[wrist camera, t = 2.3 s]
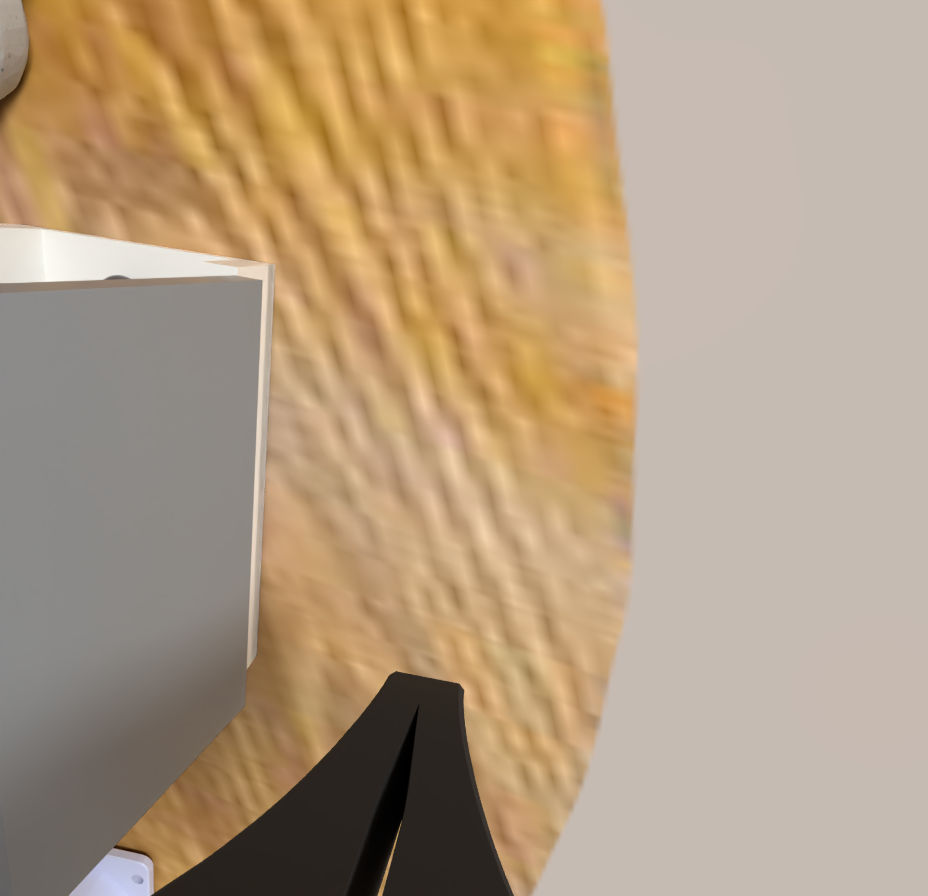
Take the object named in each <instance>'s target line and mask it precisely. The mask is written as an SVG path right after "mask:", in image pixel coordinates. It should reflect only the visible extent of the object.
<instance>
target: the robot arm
mask: <svg viewBox="0 0 928 896" xmlns="http://www.w3.org/2000/svg"><path fill="white" fill-rule="evenodd" d="M463 698H464V689H463V688H462V687H461V685H460V684H458V683H453V682H448V681H442V680H437V679H432V678H427V677H422V676H417V675H412V674H407V673H402V672H397V671H396V672H394V673H392V674H391V675H389V677H388V678H387V680H386V682H385V683H384V685H383V686H382V688H381V689H380V691H379V692H378V694H377V695H376V696H375V698H374V699H373V700H372V702H371V703H370V704H369V706H368V707H367V708H366V709H365V711H364V712H363V713H362V714H361V716H360V717H359V718H358V719H357V721H356V722H355V723H354V724H353V725H352V726H351V728H350V729H349V730H348V731H347V732H346V733H345V734H344V736H343V737H342V738H341V739H340V740H339V741H338V743H337V744H336V745H335V746H334V747H333V748H332V749H331V750H330V751H329V752H328V753H327V754H326V755H325V756H324V757H323V758H322V759H321V761H320V762H319V763H318V764H317V765H316V766H315V767H314V768H313V769H312V770H311V771H310V772H309V773H308V774H307V775H306V776H305V777H304V778H303V779H302V780H301V781H300V782H299V783H298V784H297V785H295V786H294V787H293V788H292V789H291V790H290V791H289V792H288V793H287V794H286V795H285V796H284V797H282V798H281V799H280V800H279V801H278V802H277V803H276V804H275V805H273V806H272V807H271V808H270V809H269V810H268V811H266V812H265V813H264V814H263V815H262V816H261V817H259V818H258V819H257V820H256V821H255V822H253V823H252V824H251V825H249V826H248V827H247V828H246V829H244V830H243V831H242V832H241V833H239V834H238V835H237V836H235V837H234V838H233V839H232V840H230V841H229V842H228V843H227V844H225V845H224V846H223V847H221V848H220V849H219V850H217V851H216V852H214V853H213V854H212V855H210V856H209V857H208V858H206V859H205V860H203V861H202V862H201V863H199V864H198V865H196V866H195V867H193V868H191V869H190V870H188V871H187V872H185V873H184V874H182V875H181V876H179V877H178V878H176V879H175V880H173V881H172V882H170V883H169V884H167V885H166V886H164V887H163V888H161V889H160V890H158V891H157V892H155V893H154V879H153V863H152V861H151V859H150V858H149V857H147V856H145V855H143V854H138V853H133V852H129V851H124V850H120V849H115V848H112V850H111V851H110V852H109V853H108V854H107V855H106V856H105V857H104V858H103V859H102V860H101V861H100V862H99V863H98V865H97V866H96V867H95V868H94V869H93V870H92V871H91V872H90V873H89V874H88V875H87V876H86V877H85V879H84V880H83V881H82V882H81V883H80V884H79V885H78V886H77V887H76V888H75V889H74V890H73V891H72V893H71V894H70V895H69V896H377V895H378V892H379V889H380V886H381V883H382V880H383V877H384V874H385V870H386V867H387V864H388V861H389V858H390V855H391V852H392V849H393V846H394V843H395V840H396V836H397V833H398V830H399V827H400V824H401V827H400V831H399V834H398V838H397V842H396V846H395V850H394V854H393V858H392V861H391V865H390V869H389V873H388V876H387V880H386V884H385V888H384V891H383V895H382V896H514V895H513V893H512V890H511V888H510V885H509V883H508V880H507V878H506V876H505V873H504V870H503V868H502V865H501V862H500V860H499V857H498V854H497V851H496V849H495V846H494V843H493V840H492V837H491V834H490V831H489V827H488V824H487V821H486V818H485V814H484V811H483V807H482V804H481V800H480V797H479V793H478V789H477V785H476V781H475V776H474V772H473V767H472V763H471V758H470V754H469V748H468V742H467V736H466V728H465V720H464V706H463ZM401 821H402V823H401Z"/></svg>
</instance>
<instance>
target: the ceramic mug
mask: <svg viewBox="0 0 928 896" xmlns="http://www.w3.org/2000/svg"><path fill="white" fill-rule="evenodd" d="M28 49H29V33H28V25H27V20H26V16H25V12H24V8H23V4H22V0H0V100H1V99H3V98H4V97H5V96H7V95H8V94H9V93H10V92H12V91H13V90H14V89H15V88H16V87H17V86H18V84H19V82H20V79H21V77H22V74H23V72H24V69H25V67H26V63H27V60H28Z"/></svg>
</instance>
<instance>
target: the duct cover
mask: <svg viewBox="0 0 928 896" xmlns="http://www.w3.org/2000/svg"><path fill="white" fill-rule="evenodd" d="M262 285H263V280H258V279H253V278H248V277H242V276H237V275H231V276H202V277H173V278H144V279H114V280H85V281H56V282H27V283H0V896H69V895H70V894H71V893H72V891H73V890H74V889H75V888H76V887H77V886H78V885H79V884H80V883H81V882H82V881H83V880H84V879H85V877H86V876H87V875H88V874H89V873H90V872H91V871H92V870H93V869H94V868H95V867H96V866H97V865H98V863H99V862H100V861H101V860H102V859H103V858H104V857H105V856H106V855H107V854H108V853H109V852H110V851H111V850H112V848H113V847H114V846H115V845H116V844H117V843H118V842H119V841H120V840H121V839H122V838H123V837H124V836H125V834H126V833H127V832H128V831H129V830H130V829H131V828H132V827H133V826H134V825H135V824H136V823H137V822H138V820H139V819H140V818H141V817H142V816H143V815H144V814H145V813H146V812H147V811H148V810H149V809H150V808H151V806H152V805H153V804H154V803H155V802H156V801H157V800H158V799H159V798H160V797H161V796H162V795H163V794H164V792H165V791H166V790H167V789H168V788H169V787H170V786H171V785H172V784H173V783H174V782H175V781H176V780H177V779H178V777H179V776H180V775H181V774H182V773H183V772H184V771H185V770H186V769H187V768H188V767H189V766H190V765H191V763H192V762H193V761H194V760H195V759H196V758H197V757H198V756H199V755H200V754H201V753H202V752H203V751H204V749H205V748H206V747H207V746H208V745H209V744H210V743H211V742H212V741H213V740H214V739H215V738H216V737H217V735H218V734H219V733H220V732H221V731H222V730H223V729H224V728H225V727H226V726H227V725H228V724H229V723H230V722H231V720H232V719H233V718H234V717H235V716H236V715H237V714H238V713H239V712H240V711H241V710H242V709H243V708H244V706H245V696H246V672H247V648H248V624H249V599H250V575H251V551H252V527H253V503H254V478H255V454H256V430H257V406H258V382H259V357H260V333H261V309H262Z"/></svg>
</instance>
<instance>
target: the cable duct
mask: <svg viewBox="0 0 928 896" xmlns="http://www.w3.org/2000/svg"><path fill="white" fill-rule="evenodd" d="M231 275H237V276H242V277H248V278H253V279H258V280H263V285H262V309H261V333H260V357H259V382H258V406H257V430H256V454H255V478H254V503H253V527H252V551H251V575H250V599H249V624H248V648H247V669H248V667H249V666H250V664H251V663H252V661H253V660H254V658H255V657H256V655H257V640H258V618H259V597H260V576H261V555H262V533H263V512H264V491H265V470H266V448H267V427H268V406H269V385H270V363H271V342H272V321H273V300H274V278H275V264H270V263H264V262H258V261H251V260H245V259H239V258H232V257H226V256H220V255H213V254H207V253H201V252H194V251H188V250H182V249H175V248H169V247H163V246H156V245H150V244H144V243H138V242H131V241H125V240H119V239H112V238H106V237H100V236H93V235H87V234H81V233H74V232H68V231H62V230H55V229H49V228H43V227H36V226H30V225H24V224H0V283H27V282H56V281H85V280H114V279H144V278H173V277H202V276H231Z"/></svg>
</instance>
